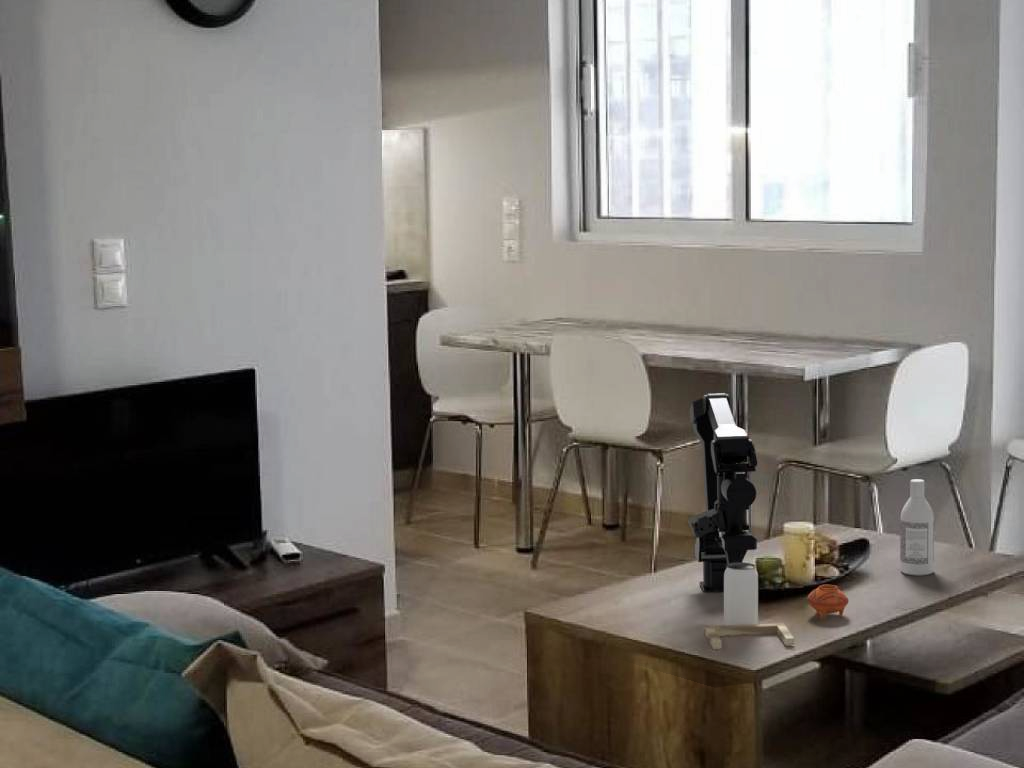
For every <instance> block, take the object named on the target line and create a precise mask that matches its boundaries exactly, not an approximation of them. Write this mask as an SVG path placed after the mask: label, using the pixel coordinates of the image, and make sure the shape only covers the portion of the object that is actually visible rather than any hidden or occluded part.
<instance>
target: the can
mask: <svg viewBox="0 0 1024 768" xmlns="http://www.w3.org/2000/svg"><path fill="white" fill-rule="evenodd" d="M726 567H727V568H726V570H725V572H724V591H723V626H730V625H753V624H759V573H758V571H757V569H756V564H754V563H750V562H743V561H742V562H736V563H730V564H727V565H726Z"/></svg>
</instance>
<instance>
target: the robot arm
mask: <svg viewBox="0 0 1024 768" xmlns="http://www.w3.org/2000/svg"><path fill="white" fill-rule="evenodd" d="M733 407H734V406H733V400H731V398H730V396H729V394H728V393H725V392H723V393H722V392H721V393H718V392H717V393H706V394H703V396H702V398H699V399H697V400H694V401H693V402H692V403H691V405H690V407H689V420H690V424H692V426H693V433H694V434H695V436H696V438H697V440H699V442H700V443H701V448H702V449H701V451H702V467H703V468H702V469H703V484H704V502H705V511H703V512H701V513H698V514H695V515H693V516H691V517H689V518H688V519H687V521H688V523H689V526H690V528H691V531H692V533H693V535H694V536H695V537H694V538H696V539H695V544H694V552H695V553H694V554H695V555H694V557H695V559H696V560H697V562H698V563H702V578H703V579H702V581H699V586H700V587H701V589H702V591H703V592H704V593H707V592H709V593H710V592H724V572H725V570H726V568H727V567H726V565H727V564H730V563H736V562H743V561H744V559H745V557H746V555H747V552H748V551H753V550H754V551H755V550H757V549H758V543H757V542H758V540H757V538H756V537H755V535H754V534H752V533H751V532H750V524H749V523H748V510H750V506H752V505H753V504H754V502H755V500H756V498H757V490H756V487H755V485H754V484H753V482H752V481H751V480H749V474H748V473H749V472H750V473H751V472H756V467H757V466H758V459H757V453H756V448H755V445H754V444H753V440H752V439H750V438H749V436H748V433H747V431H746V430H745V429H743V428H741V427H739V426H737V423H736V421H735V418H734V417H735V416H734V408H733Z"/></svg>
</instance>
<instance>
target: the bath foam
mask: <svg viewBox="0 0 1024 768" xmlns="http://www.w3.org/2000/svg"><path fill="white" fill-rule="evenodd" d="M925 484H926V483H925V480H924V479H919V478H916V479H915V478H914V479H910V485H909V486H910V487H909V489H910V491H909V492H910V494H909V495H910V497H909V498H908V499H907V501H906V503H905V504H904V505H903V508H902V510H901V512H900V513H901V514H900V526H899V527H900V534H899V535H900V536H899V537H900V539H899V541H900V542H899V544H900V546H899V549H900V550H899V551H900V553H899V556H900V559H899V561H900V563H899V565H900V566H899V568H900V571H901V573H903V574H905V575H910V576H928V575H930V574H931V575H932V573H933V572H934V568H935V567H934V566H935V565H934V563H935V557H934V556H935V516H934V511H933V509H932V507H931V505H930V503H929V502H928V500H927V499H926V497H925Z"/></svg>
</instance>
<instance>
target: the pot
mask: <svg viewBox="0 0 1024 768" xmlns="http://www.w3.org/2000/svg"><path fill="white" fill-rule="evenodd" d="M806 600H807V602H808V604H809V605H810V606H811V608H812V609H813V610H815V611H816V613H817V614H819V618H820V620H822V621H824V620H825V619H826V615H828V614H829V615H831V614H836V613H839V614H838V615H839V616H840V615H841V616H842V615H843V614H844V611H845V607H846V606H847V605H848V604H849V598H848V597H847V595H846V594H845V592H843V591H842V590H840V589H839V587H838V586H837V585H833V584H822V585H818V587H817V588H816V587H815V589H813V590H812V591H811V592H810V593H809V594H808V595H807V598H806Z"/></svg>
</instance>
